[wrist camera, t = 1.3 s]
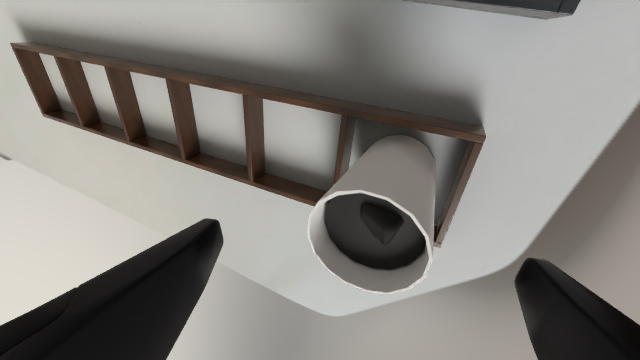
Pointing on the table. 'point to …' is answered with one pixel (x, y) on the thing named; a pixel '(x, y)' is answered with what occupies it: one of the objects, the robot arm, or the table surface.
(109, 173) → the table surface
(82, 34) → the table surface
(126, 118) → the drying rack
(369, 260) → the white coffee cup
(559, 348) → the robot arm
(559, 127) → the table surface
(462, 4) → the open box
